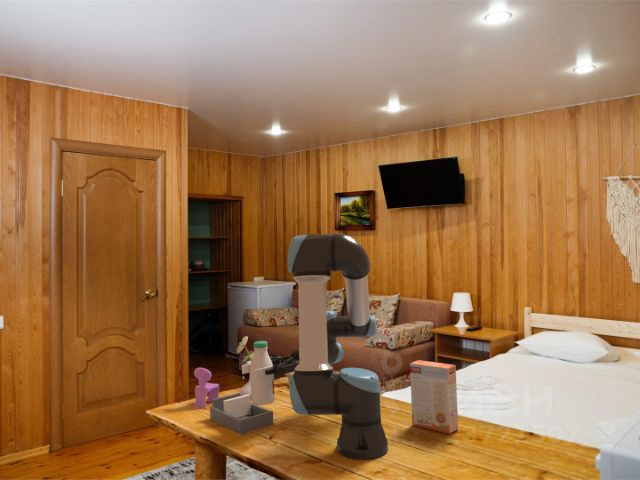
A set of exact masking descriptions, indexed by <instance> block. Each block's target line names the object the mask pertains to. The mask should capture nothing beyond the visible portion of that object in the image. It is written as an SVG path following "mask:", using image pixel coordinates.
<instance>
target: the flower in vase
mask: <svg viewBox="0 0 640 480" xmlns="http://www.w3.org/2000/svg"><path fill="white" fill-rule="evenodd" d="M248 338H249V336H247V335H246V336H243V338H242V340H241V341H240V342H239V343H238V345H237V347H236V353H237V354H240V353H241V352H242V351H243V350H244V349H246V352H247V355H246V356H244V358H243V360H242V362H245V365H246V364H251V362H252V359H253V356H254V352H255V351H252V352H251V353H249V350H248V348H247V346H246V344H247V342H248ZM248 359H249V361H248ZM238 393H240V396H243V395H247V394H249V395H250V399H251V381H250V378H249V379H248V382H246V383H245V384H244V385H243V386H242V387H241V389H240V390H239V392H238Z"/></svg>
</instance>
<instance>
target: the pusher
mask: <svg viewBox="0 0 640 480" xmlns="http://www.w3.org/2000/svg"><path fill="white" fill-rule="evenodd" d="M223 402H224V412H226V413H228V414H230V415H233V416H235V417H237V418H238V417H242V416H245V415H249V414H251V403H252V401H251V398H250V395H249V394H247V395H243V396H241V395H240V396H239V397H235V398H232V399H228V400H224V401H223Z"/></svg>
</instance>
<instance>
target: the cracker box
mask: <svg viewBox="0 0 640 480" xmlns="http://www.w3.org/2000/svg"><path fill="white" fill-rule="evenodd" d="M456 366H457V365H455V364H450V363H443V362H437V361H435V362H434V361H427V360H420V359H418V360H415V361H412V362H410V363H409V367H410V369H409V373H410V374H409V375H410V394H411V396H410V397H411V398H410V399H411V400H410V401H411V422H412V423H411V425H412V426H414V427H418V428H423V429H427V430H432V431H436V432H439V433H444V434H446V435H447V434H448V435H451V434H452V433H454V432H456V431H458V430H459V417H458V415H459V414H458V413H459V412H458V395H457V394H458V393H457V391H458V389H457V387H458V386H457V367H456Z"/></svg>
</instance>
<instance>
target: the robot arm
mask: <svg viewBox="0 0 640 480" xmlns="http://www.w3.org/2000/svg"><path fill="white" fill-rule="evenodd" d="M287 270H288V273H290V274H292V277H293V279H292V280H295V282H296V284H297V285H298V286H297V287H298V288H297V289H298V292H297V293H298V338H299V339H298V346H299V347H298V349H294V350H293V351H292V352H291V354H290V356H289V355H285V356H282V355H277V356H274V357H270V359H271V361H272V364H273V366H269V367H265V368H260V369H256V370H255V378H256V379H257V378H261V377H265V376H269V375H273V374H274V376H275V375H276V376H277V375H279V376H282V375H285V374H287V373H290V372H294V371H295V373H294V374H292V375H291V376H290V378H289V380H288V384H289V385H288V388H289V389H288V390H289V391H288V392H289V398H290V401H291V407H292V409H293V410H294V412H295V413H296V414H297V415H303V416H309V417H310V416H318V415H319V416H323V415H324V416H331V415H332V416H336V415H337V416H338V415H340V416H341V427H340V429H339V433H338V438H337V441H336V451H337V453H338V454H339V455H341V456H343V457H346V458H348V459H353V460H371V459H376V458H380V457H382V456H384V455H386V454H387V453H388V451H389V442H388V438H387V437H386V433H385V430H384V428H383V424H382V412H381V410H382V407H381V394H380V393H381V387H380V385H381V384H380V378H379V376H378V374H377V373H375V372H374V371H372V370H369V369H366V368H360V367H344V368H342V369H340V371H339V373H335V374H334V367H333V364H336V363H339V362H341V360H343V358H344V349H343V347H342V345H341V343H339V342H338V341H337V338H367V337H375V336H376V333H377V324H376V316H374V315H371V314H370V313H371V312H370V311H371V310H370V296H369V294H370V293H369V281H368V280H369V278H368V277H369V276H368V275H369V274H370V272H371V262H370V258H369V255H368V253H367V250H366V249H365V248H364V246H363V245H362V244H361V243H360V242H359V241H358V240H356V239H355V238H353V237H352V236H350V235H347V234H344V233H323V234H316V233H313V234H303V235H295V236H294V237H293V238H292V239H291V241H290V243H289V247H288V253H287ZM332 272H340V274H341V275H342V277H343V279H344V287H345V288H344V289H345V297H346V304H347V305H346V306H347V313H348V314H347V315H336V312H335V311H334V310H327V309H328V308H327V307H328V306H327V304H328V303H327V282H329V280H330V279H331V277H332V275H331V273H332ZM250 366H251V364H246V363H245V364H242V365H241V374H242V375H244V374H248V373H249V374H250Z"/></svg>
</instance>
